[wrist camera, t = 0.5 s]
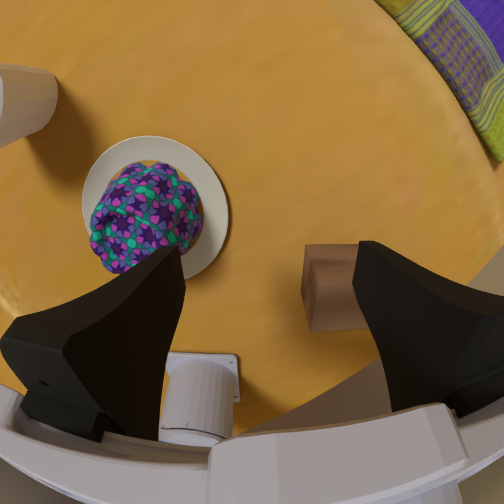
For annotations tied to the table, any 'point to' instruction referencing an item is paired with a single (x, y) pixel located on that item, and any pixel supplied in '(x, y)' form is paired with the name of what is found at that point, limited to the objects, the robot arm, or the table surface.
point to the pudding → (153, 205)
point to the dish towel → (463, 55)
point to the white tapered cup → (25, 101)
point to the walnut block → (331, 288)
